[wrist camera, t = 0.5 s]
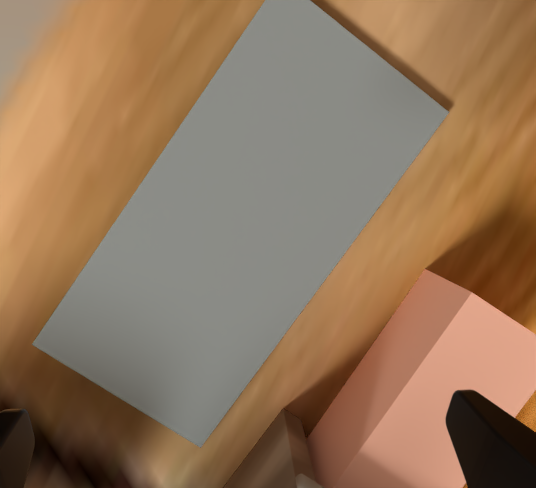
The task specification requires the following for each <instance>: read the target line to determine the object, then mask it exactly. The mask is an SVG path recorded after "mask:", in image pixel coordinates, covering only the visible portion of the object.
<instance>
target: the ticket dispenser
mask: <svg viewBox="0 0 536 488" xmlns="http://www.w3.org/2000/svg"><path fill="white" fill-rule="evenodd" d="M223 488H324V487H323V486H321V485H319V484H318V483H316V480H315V475H314V471H313V467H312V463H311V459H310V455H309V451H308V446H307V442H306V438H305V434H304V430H303V426H302V421H301V420H300V419H299V418H297V417H296V416H294V415H293V414H291V413H290V412H288V411H286V410H285V409H282V411H281V412H280V413H279V414H278V416H277V417H276V418H275V420H274V421H273V422H272V424H271V425H270V426H269V428H268V429H267V430H266V432H265V433H264V434H263V436H262V437H261V438H260V440H259V441H258V442H257V444H256V445H255V446H254V448H253V449H252V450H251V452H250V453H249V454H248V456H247V457H246V458H245V460H244V461H243V462H242V463H241V465H240V466H239V467H238V469H237V470H236V471H235V473H234V474H233V475H232V477H231V478H230V479H229V481H228V482H227V483H226V485H225V486H224V487H223Z"/></svg>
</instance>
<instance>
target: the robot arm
mask: <svg viewBox="0 0 536 488" xmlns="http://www.w3.org/2000/svg"><path fill="white" fill-rule="evenodd" d="M445 420H446V427H447V430H448V433H449V436H450V438H451V441H452V444H453V447H454V450H455V452H456V455H457V458H458V461H459V464H460V466H461V469H462V472H463V475H464V478H465V480H466V483H467V486H468V488H536V432H534V431H533V430H531V429H530V428H529V427H527V426H526V425H524V424H523V423H521V422H520V421H519V420H517V419H516V418H514V417H513V416H511V415H510V414H508V413H507V412H506V411H504V410H503V409H501V408H500V407H498V406H497V405H496V404H494V403H493V402H491V401H490V400H488V399H487V398H485V397H484V396H483V395H481V394H480V393H478V392H477V391H475V390H471V389H469V390H456V391H455V392H454V393H453V395H452V398H451V401H450V404H449V407H448V410H447V413H446V419H445ZM34 445H35V438H34V433H33V429H32V425H31V422H30V418H29V414H28V412H27V410H25V409H6V410H3V411H1V412H0V488H24V484H25V480H26V476H27V473H28V469H29V465H30V462H31V458H32V454H33V450H34Z"/></svg>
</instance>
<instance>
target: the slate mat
mask: <svg viewBox="0 0 536 488" xmlns="http://www.w3.org/2000/svg"><path fill="white" fill-rule="evenodd" d="M448 113H449V112H448V111H447V110H446V109H445V108H443V107H442V106H441V105H440V104H438V103H437V102H436V101H435V100H433V99H432V98H431V97H430V96H428V95H427V94H426V93H425V92H423V91H422V90H421V89H420V88H418V87H417V86H416V85H415V84H413V83H412V82H411V81H410V80H409V79H407V78H406V77H405V76H404V75H402V74H401V73H400V72H399V71H397V70H396V69H395V68H394V67H392V66H391V65H390V64H389V63H387V62H386V61H385V60H384V59H382V58H381V57H380V56H379V55H377V54H376V53H375V52H374V51H372V50H371V49H370V48H369V47H368V46H366V45H365V44H364V43H363V42H361V41H360V40H359V39H358V38H356V37H355V36H354V35H353V34H351V33H350V32H349V31H348V30H346V29H345V28H344V27H343V26H341V25H340V24H339V23H338V22H336V21H335V20H334V19H333V18H332V17H330V16H329V15H328V14H327V13H325V12H324V11H323V10H322V9H320V8H319V7H318V6H317V5H315V4H314V3H313V2H312V1H310V0H265V2H264V3H263V5H262V6H261V7H260V9H259V10H258V12H257V13H256V15H255V16H254V18H253V19H252V21H251V22H250V24H249V25H248V27H247V28H246V30H245V31H244V33H243V34H242V35H241V37H240V38H239V40H238V41H237V43H236V44H235V46H234V47H233V49H232V50H231V52H230V53H229V55H228V56H227V58H226V59H225V61H224V62H223V63H222V65H221V66H220V68H219V69H218V71H217V72H216V74H215V75H214V77H213V78H212V80H211V81H210V83H209V84H208V86H207V87H206V89H205V90H204V91H203V93H202V94H201V96H200V97H199V99H198V100H197V102H196V103H195V105H194V106H193V108H192V109H191V111H190V112H189V114H188V115H187V117H186V118H185V119H184V121H183V122H182V124H181V125H180V127H179V128H178V130H177V131H176V133H175V134H174V136H173V137H172V139H171V140H170V142H169V143H168V145H167V146H166V148H165V149H164V150H163V152H162V153H161V155H160V156H159V158H158V159H157V161H156V162H155V164H154V165H153V167H152V168H151V170H150V171H149V173H148V174H147V176H146V177H145V178H144V180H143V181H142V183H141V184H140V186H139V187H138V189H137V190H136V192H135V193H134V195H133V196H132V198H131V199H130V201H129V202H128V204H127V205H126V206H125V208H124V209H123V211H122V212H121V214H120V215H119V217H118V218H117V220H116V221H115V223H114V224H113V226H112V227H111V229H110V230H109V232H108V233H107V234H106V236H105V237H104V239H103V240H102V242H101V243H100V245H99V246H98V248H97V249H96V251H95V252H94V254H93V255H92V257H91V258H90V260H89V261H88V262H87V264H86V265H85V267H84V268H83V270H82V271H81V273H80V274H79V276H78V277H77V279H76V280H75V282H74V283H73V285H72V286H71V288H70V289H69V290H68V292H67V293H66V295H65V296H64V298H63V299H62V301H61V302H60V304H59V305H58V307H57V308H56V310H55V311H54V313H53V314H52V316H51V317H50V319H49V320H48V321H47V323H46V324H45V326H44V327H43V329H42V330H41V332H40V333H39V335H38V336H37V338H36V339H35V341H34V342H33V344H32V345H33V346H35V347H37V348H38V349H40V350H42V351H43V352H45V353H47V354H48V355H50V356H51V357H53V358H55V359H56V360H58V361H60V362H61V363H63V364H65V365H66V366H68V367H69V368H71V369H73V370H74V371H76V372H78V373H79V374H81V375H83V376H84V377H86V378H87V379H89V380H91V381H92V382H94V383H96V384H97V385H99V386H101V387H102V388H104V389H105V390H107V391H109V392H110V393H112V394H114V395H115V396H117V397H119V398H120V399H122V400H123V401H125V402H127V403H128V404H130V405H132V406H133V407H135V408H137V409H138V410H140V411H141V412H143V413H145V414H146V415H148V416H150V417H151V418H153V419H154V420H156V421H158V422H159V423H161V424H163V425H164V426H166V427H168V428H169V429H171V430H172V431H174V432H176V433H177V434H179V435H181V436H182V437H184V438H186V439H187V440H189V441H190V442H192V443H194V444H195V445H197V446H199V447H200V448H201V447H202V445H203V444H204V443H205V441H206V440H207V438H208V437H209V436H210V434H211V433H212V432H213V430H214V429H215V428H216V426H217V425H218V424H219V422H220V421H221V420H222V418H223V417H224V416H225V414H226V413H227V411H228V410H229V409H230V407H231V406H232V405H233V403H234V402H235V401H236V399H237V398H238V397H239V395H240V394H241V393H242V391H243V390H244V389H245V387H246V386H247V384H248V383H249V382H250V380H251V379H252V378H253V376H254V375H255V374H256V372H257V371H258V370H259V368H260V367H261V366H262V364H263V363H264V362H265V360H266V359H267V358H268V356H269V355H270V353H271V352H272V351H273V349H274V348H275V347H276V345H277V344H278V343H279V341H280V340H281V339H282V337H283V336H284V335H285V333H286V332H287V331H288V329H289V328H290V326H291V325H292V324H293V322H294V321H295V320H296V318H297V317H298V316H299V314H300V313H301V312H302V310H303V309H304V308H305V306H306V305H307V304H308V302H309V301H310V300H311V298H312V297H313V295H314V294H315V293H316V291H317V290H318V289H319V287H320V286H321V285H322V283H323V282H324V281H325V279H326V278H327V277H328V275H329V274H330V273H331V271H332V270H333V268H334V267H335V266H336V264H337V263H338V262H339V260H340V259H341V258H342V256H343V255H344V254H345V252H346V251H347V250H348V248H349V247H350V246H351V244H352V243H353V242H354V240H355V239H356V237H357V236H358V235H359V233H360V232H361V231H362V229H363V228H364V227H365V225H366V224H367V223H368V221H369V220H370V219H371V217H372V216H373V215H374V213H375V212H376V210H377V209H378V208H379V206H380V205H381V204H382V202H383V201H384V200H385V198H386V197H387V196H388V194H389V193H390V192H391V190H392V189H393V188H394V186H395V185H396V183H397V182H398V181H399V179H400V178H401V177H402V175H403V174H404V173H405V171H406V170H407V169H408V167H409V166H410V165H411V163H412V162H413V161H414V159H415V158H416V157H417V155H418V154H419V152H420V151H421V150H422V148H423V147H424V146H425V144H426V143H427V142H428V140H429V139H430V138H431V136H432V135H433V134H434V132H435V131H436V130H437V128H438V127H439V125H440V124H441V123H442V121H443V120H444V119H445V117H446V116H447V115H448Z"/></svg>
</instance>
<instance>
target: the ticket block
mask: <svg viewBox="0 0 536 488" xmlns="http://www.w3.org/2000/svg"><path fill="white" fill-rule="evenodd" d="M469 389H471V390H475V391H477V392H478V393H480V394H481V395H483V396H484V397H485V398H487V399H488V400H490V401H491V402H493V403H494V404H496V405H497V406H498V407H500V408H501V409H503V410H504V411H506V412H507V413H508V414H510V415H511V416H513V417H514V418H515V417H516V415H517V414H518V413H519V411H520V410H521V409H522V407H523V406H524V405H525V403H526V402H527V401H528V399H529V398H530V397H531V395H532V394H533V393H534V391H535V390H536V334H534V333H533V332H531V331H530V330H528V329H527V328H525V327H523V326H522V325H520V324H519V323H517V322H516V321H514V320H513V319H511V318H510V317H508V316H507V315H505V314H504V313H502V312H501V311H499V310H498V309H496V308H495V307H493V306H492V305H490V304H489V303H487V302H486V301H484V300H483V299H481V298H480V297H478V296H477V295H475V294H474V293H472V292H470V291H468V290H466V289H464V288H462V287H460V286H458V285H456V284H454V283H452V282H450V281H448V280H446V279H444V278H442V277H440V276H438V275H436V274H434V273H432V272H430V271H428V270H426V269H425V270H424V271H423V273H422V274H421V275H420V277H419V278H418V280H417V281H416V283H415V284H414V286H413V287H412V288H411V290H410V291H409V293H408V294H407V296H406V297H405V298H404V300H403V301H402V303H401V304H400V306H399V307H398V309H397V310H396V311H395V313H394V314H393V316H392V317H391V319H390V320H389V321H388V323H387V324H386V326H385V327H384V329H383V330H382V332H381V333H380V334H379V336H378V337H377V339H376V340H375V342H374V343H373V344H372V346H371V347H370V349H369V350H368V352H367V353H366V355H365V356H364V357H363V359H362V360H361V362H360V363H359V365H358V366H357V367H356V369H355V370H354V372H353V373H352V375H351V376H350V377H349V379H348V380H347V382H346V383H345V385H344V386H343V388H342V389H341V390H340V392H339V393H338V395H337V396H336V398H335V399H334V400H333V402H332V403H331V405H330V406H329V408H328V409H327V411H326V412H325V413H324V415H323V416H322V418H321V419H320V421H319V422H318V423H317V425H316V426H315V428H314V429H313V431H312V432H311V434H310V435H309V436H308V438H307V439H306V442H307V446H308V451H309V455H310V459H311V463H312V467H313V471H314V475H315V480H316V483H318V484H319V485H321V486H323V487H324V488H463V486H464V485H465V484H466V480H465V478H464V475H463V472H462V469H461V466H460V464H459V461H458V458H457V455H456V452H455V450H454V447H453V444H452V441H451V438H450V436H449V433H448V430H447V427H446V420H445V419H446V413H447V410H448V407H449V404H450V401H451V398H452V395H453V393H454V392H455V391H456V390H469Z"/></svg>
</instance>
